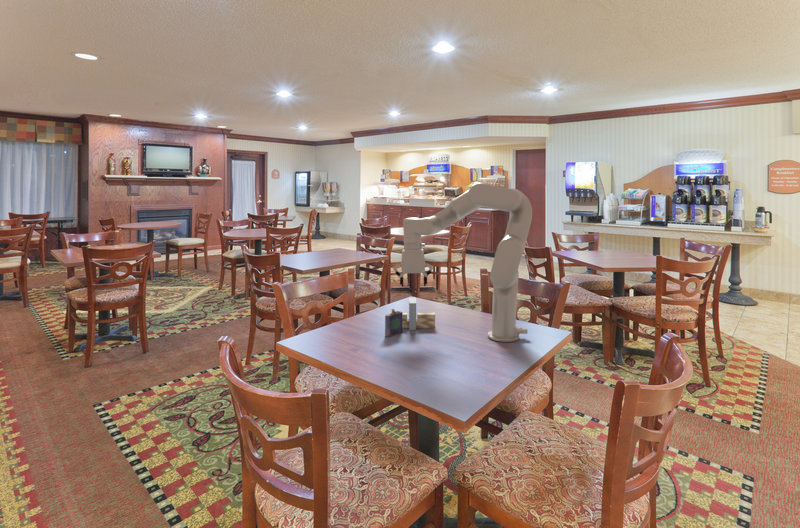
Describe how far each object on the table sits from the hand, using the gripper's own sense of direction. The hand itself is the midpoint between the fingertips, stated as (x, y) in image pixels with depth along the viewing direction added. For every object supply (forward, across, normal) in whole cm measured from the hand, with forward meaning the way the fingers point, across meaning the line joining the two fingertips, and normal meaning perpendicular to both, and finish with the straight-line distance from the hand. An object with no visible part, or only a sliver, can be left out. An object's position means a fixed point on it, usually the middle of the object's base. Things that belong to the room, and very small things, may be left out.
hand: (413, 285), depth 192 cm
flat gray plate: (+18, +1, 0) cm, 19 cm away
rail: (+18, +1, 0) cm, 18 cm away
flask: (+19, +9, +10) cm, 23 cm away
